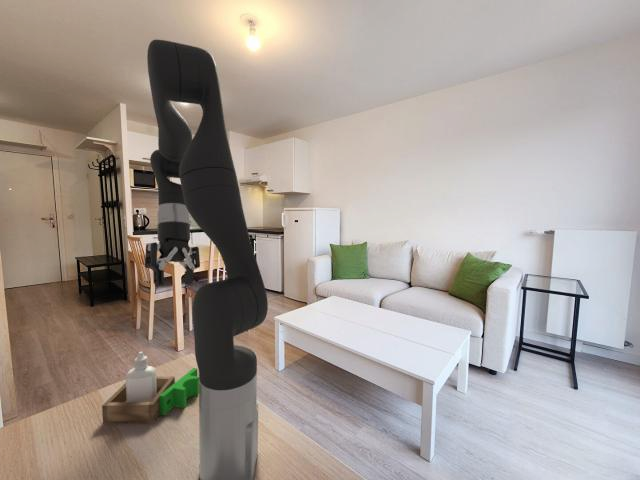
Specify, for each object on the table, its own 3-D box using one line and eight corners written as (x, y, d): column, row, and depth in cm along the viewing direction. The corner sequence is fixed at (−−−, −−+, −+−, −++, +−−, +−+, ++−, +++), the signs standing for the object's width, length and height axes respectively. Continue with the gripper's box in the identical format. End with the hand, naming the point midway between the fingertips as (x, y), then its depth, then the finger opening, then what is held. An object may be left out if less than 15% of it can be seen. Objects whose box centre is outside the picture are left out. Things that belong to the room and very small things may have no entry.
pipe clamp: (174, 418, 59) (173, 398, 59) (159, 415, 60) (159, 395, 60) (206, 386, 70) (206, 369, 70) (193, 384, 71) (193, 367, 71)
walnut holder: (174, 391, 68) (174, 376, 67) (153, 422, 58) (153, 404, 57) (132, 392, 67) (131, 376, 66) (102, 423, 57) (102, 405, 57)
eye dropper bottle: (143, 412, 60) (142, 359, 59) (123, 407, 61) (121, 355, 60) (160, 399, 64) (159, 349, 63) (140, 394, 65) (139, 346, 64)
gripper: (158, 216, 65) (159, 285, 63) (205, 225, 78) (207, 283, 76) (137, 221, 68) (137, 288, 66) (186, 229, 81) (187, 285, 79)
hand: (175, 285), depth 71 cm, fingers open, 8 cm apart
